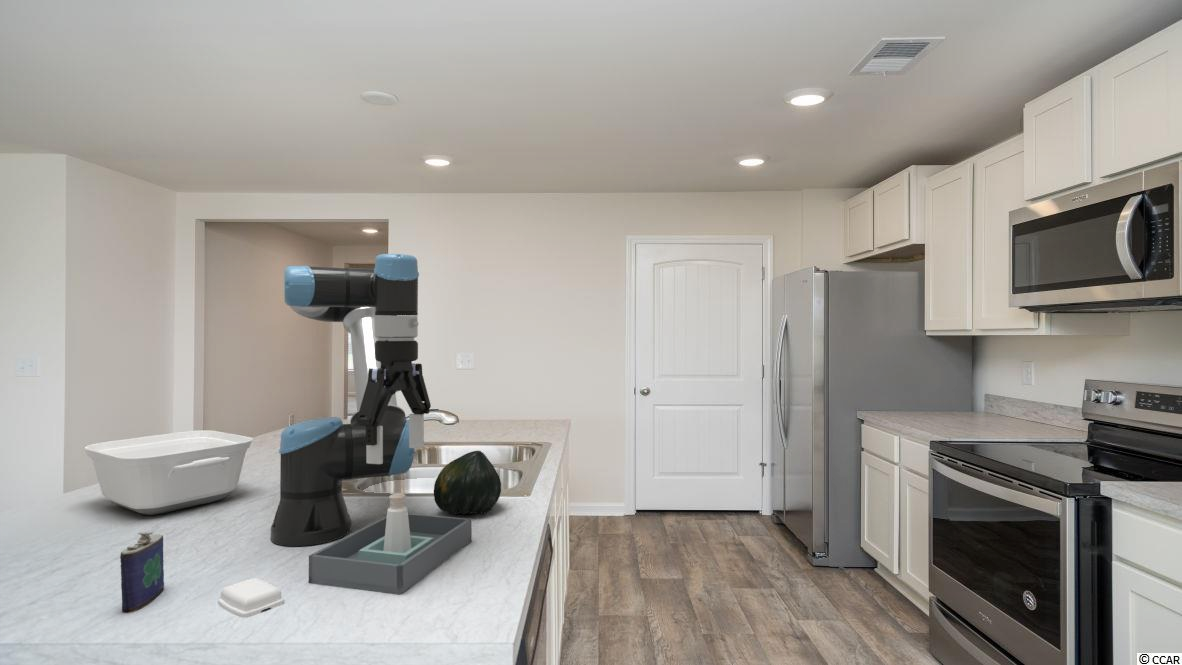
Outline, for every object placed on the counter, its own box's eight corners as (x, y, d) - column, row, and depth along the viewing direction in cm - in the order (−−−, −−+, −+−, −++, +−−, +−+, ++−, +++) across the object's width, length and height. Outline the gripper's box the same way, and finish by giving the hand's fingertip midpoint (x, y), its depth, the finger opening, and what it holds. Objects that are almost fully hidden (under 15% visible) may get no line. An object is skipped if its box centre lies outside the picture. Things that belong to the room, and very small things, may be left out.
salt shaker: (388, 562, 111) (388, 500, 111) (377, 553, 115) (377, 494, 115) (417, 555, 114) (417, 495, 114) (406, 547, 118) (405, 489, 118)
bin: (308, 582, 105) (308, 555, 105) (394, 533, 129) (394, 512, 129) (400, 594, 100) (400, 566, 100) (471, 541, 125) (471, 518, 125)
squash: (420, 484, 148) (440, 443, 140) (476, 477, 157) (498, 438, 149) (438, 536, 139) (460, 495, 132) (496, 525, 149) (521, 487, 141)
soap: (214, 605, 97) (214, 586, 97) (258, 590, 102) (258, 572, 102) (242, 621, 92) (242, 602, 92) (288, 604, 97) (288, 586, 97)
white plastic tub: (269, 500, 154) (269, 440, 154) (136, 532, 130) (135, 461, 130) (199, 481, 172) (199, 427, 172) (71, 506, 148) (70, 444, 148)
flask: (151, 588, 102) (150, 523, 102) (170, 587, 103) (170, 522, 103) (116, 614, 93) (116, 542, 93) (138, 613, 94) (137, 541, 94)
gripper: (373, 342, 101) (373, 472, 102) (448, 337, 125) (448, 443, 126) (334, 341, 103) (334, 469, 104) (414, 337, 127) (414, 441, 128)
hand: (396, 455), depth 115 cm, fingers open, 13 cm apart
